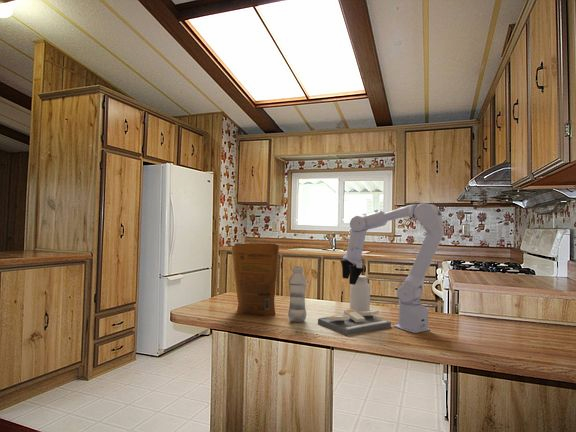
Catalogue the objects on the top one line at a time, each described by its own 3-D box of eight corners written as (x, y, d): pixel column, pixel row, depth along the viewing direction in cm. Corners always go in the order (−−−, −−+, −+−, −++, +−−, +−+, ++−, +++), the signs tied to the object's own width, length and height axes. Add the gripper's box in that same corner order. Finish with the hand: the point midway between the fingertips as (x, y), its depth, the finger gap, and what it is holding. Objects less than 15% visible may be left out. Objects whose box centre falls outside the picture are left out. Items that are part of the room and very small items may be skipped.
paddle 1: (349, 319, 126) (349, 315, 127) (341, 320, 124) (341, 316, 125) (336, 319, 132) (336, 315, 132) (328, 320, 130) (328, 316, 130)
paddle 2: (379, 314, 134) (378, 310, 134) (371, 315, 132) (371, 311, 132) (365, 314, 139) (365, 310, 140) (358, 315, 138) (357, 311, 138)
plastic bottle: (304, 324, 132) (305, 268, 132) (286, 323, 133) (287, 267, 134) (307, 320, 138) (308, 266, 139) (289, 318, 140) (290, 265, 140)
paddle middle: (364, 321, 130) (364, 317, 130) (356, 322, 128) (357, 319, 128) (351, 311, 136) (351, 308, 136) (343, 313, 134) (344, 309, 134)
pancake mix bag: (275, 317, 141) (276, 244, 141) (229, 313, 146) (230, 242, 147) (280, 313, 147) (281, 243, 148) (236, 309, 153) (237, 241, 153)
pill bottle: (371, 315, 147) (372, 277, 147) (351, 315, 147) (351, 277, 147) (367, 310, 155) (368, 274, 155) (348, 310, 155) (348, 274, 155)
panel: (390, 327, 131) (390, 319, 131) (347, 335, 120) (347, 327, 120) (359, 317, 144) (359, 310, 144) (317, 323, 133) (318, 316, 133)
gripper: (339, 242, 149) (333, 274, 150) (352, 249, 135) (345, 285, 136) (355, 244, 150) (349, 276, 151) (370, 252, 136) (363, 287, 137)
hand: (348, 281), depth 144 cm, fingers open, 7 cm apart
